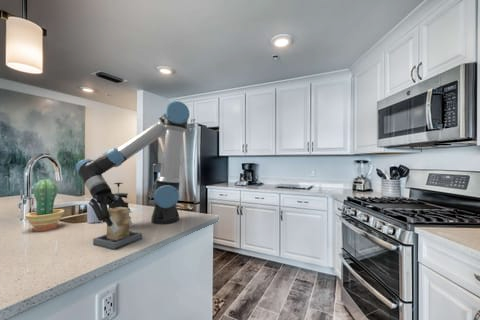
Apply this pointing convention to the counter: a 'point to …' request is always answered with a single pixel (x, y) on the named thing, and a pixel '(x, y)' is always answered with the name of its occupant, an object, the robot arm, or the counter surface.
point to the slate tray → (117, 241)
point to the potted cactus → (44, 206)
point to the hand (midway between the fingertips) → (124, 228)
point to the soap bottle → (92, 214)
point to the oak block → (119, 223)
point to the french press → (120, 194)
